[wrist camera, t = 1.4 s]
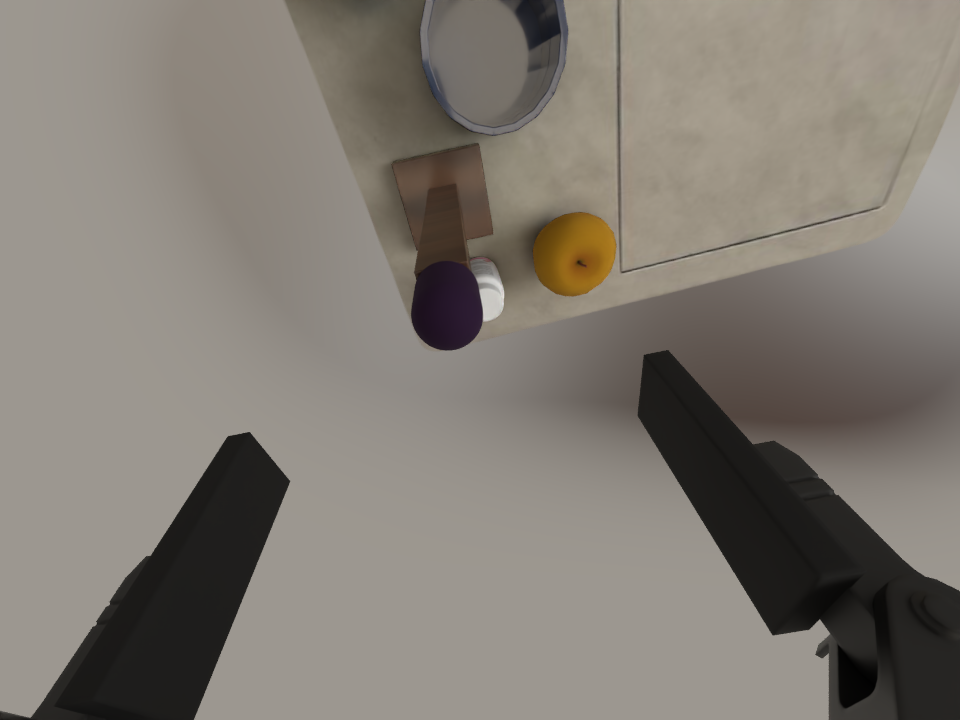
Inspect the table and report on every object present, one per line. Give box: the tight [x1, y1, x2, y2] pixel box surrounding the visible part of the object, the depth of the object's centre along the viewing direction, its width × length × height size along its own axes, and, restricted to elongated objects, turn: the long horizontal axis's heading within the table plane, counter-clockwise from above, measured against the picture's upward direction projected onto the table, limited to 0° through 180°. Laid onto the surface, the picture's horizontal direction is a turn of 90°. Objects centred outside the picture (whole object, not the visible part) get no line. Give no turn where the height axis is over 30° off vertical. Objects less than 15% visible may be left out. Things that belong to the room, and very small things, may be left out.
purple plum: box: [411, 261, 483, 350], centre depth 19 cm, size 4×4×5 cm
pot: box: [420, 0, 568, 136], centre depth 30 cm, size 11×11×7 cm
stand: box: [391, 143, 493, 280], centre depth 30 cm, size 9×9×24 cm
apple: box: [533, 212, 616, 296], centre depth 40 cm, size 9×9×9 cm
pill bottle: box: [470, 257, 504, 321], centre depth 42 cm, size 5×5×8 cm
